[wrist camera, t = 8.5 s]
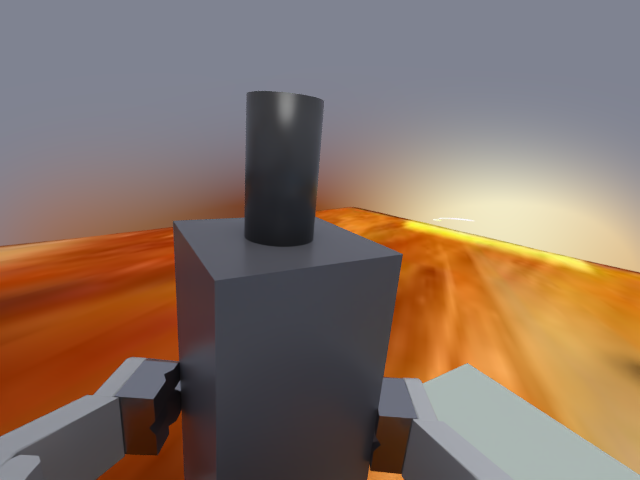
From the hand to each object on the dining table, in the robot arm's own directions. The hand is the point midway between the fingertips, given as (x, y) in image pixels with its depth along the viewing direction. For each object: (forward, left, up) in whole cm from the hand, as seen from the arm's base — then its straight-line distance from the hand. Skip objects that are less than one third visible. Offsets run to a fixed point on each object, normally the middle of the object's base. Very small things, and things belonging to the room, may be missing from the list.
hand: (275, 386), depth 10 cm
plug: (0, -1, -7) cm, 7 cm away
